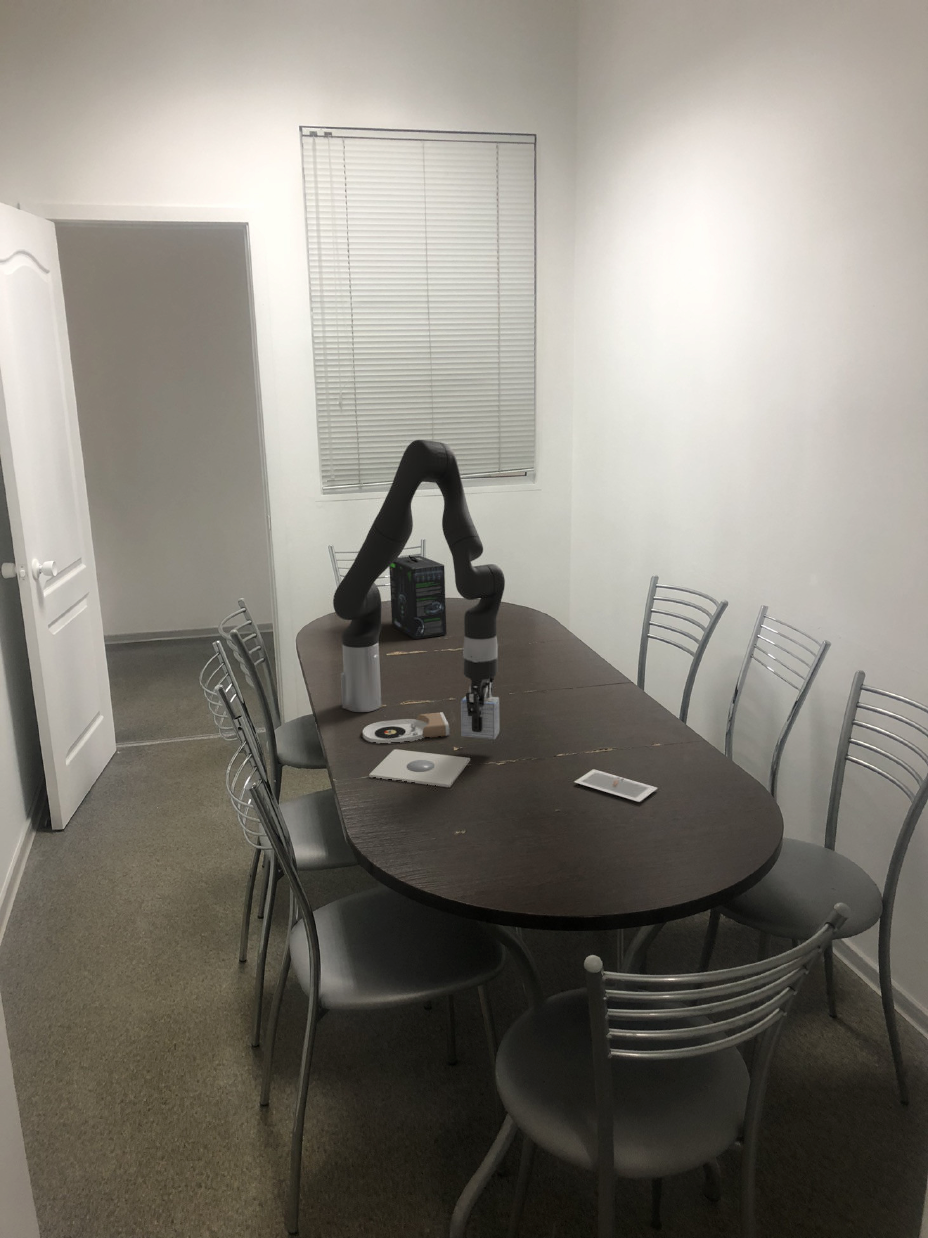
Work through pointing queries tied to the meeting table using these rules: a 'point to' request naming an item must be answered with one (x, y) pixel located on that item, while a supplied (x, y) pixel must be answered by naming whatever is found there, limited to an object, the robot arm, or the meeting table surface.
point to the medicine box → (488, 719)
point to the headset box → (418, 596)
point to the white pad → (420, 767)
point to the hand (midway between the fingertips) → (480, 726)
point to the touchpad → (616, 785)
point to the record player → (407, 729)
